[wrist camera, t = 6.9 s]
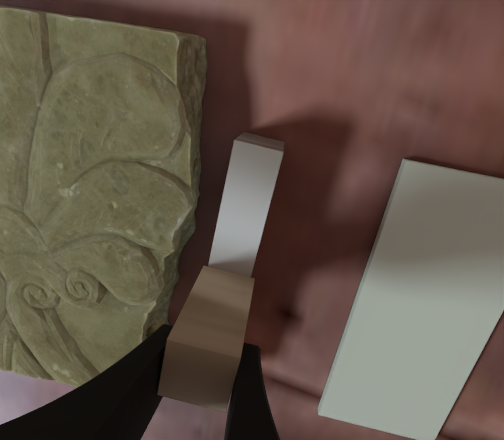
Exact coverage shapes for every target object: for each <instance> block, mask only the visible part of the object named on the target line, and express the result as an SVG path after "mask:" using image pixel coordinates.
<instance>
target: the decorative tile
mask: <svg viewBox="0 0 504 440" xmlns="http://www.w3.org/2000/svg"><path fill="white" fill-rule="evenodd" d="M206 70H207V51H206V39H205V38H204V37H202V36H199V35H195V34H190V33H184V32H178V31H173V30H166V29H160V28H153V27H147V26H141V25H134V24H128V23H121V22H115V21H108V20H101V19H94V18H88V17H81V16H73V15H67V14H60V13H54V12H47V11H41V10H34V9H28V8H21V7H14V6H7V5H1V4H0V370H4V371H12V372H14V373H16V374H21V375H25V376H30V377H35V378H40V379H47V380H56V381H58V382H60V383H64V384H67V385H71V386H74V387H79V386H81V385H83V384H84V383H86V382H88V381H89V380H91V379H92V378H94V377H95V376H97V375H99V374H100V373H102V372H103V371H104V370H106V369H107V368H109V367H110V366H111V365H113V364H114V363H116V362H117V361H118V360H120V359H121V358H123V357H124V356H125V355H126V354H128V353H129V352H130V351H131V350H133V349H134V348H135V347H137V346H138V345H139V344H140V343H141V342H143V341H144V340H145V339H146V338H147V337H149V336H150V335H151V334H152V333H153V332H154V331H155V330H157V329H158V328H159V327H160V326H161V325H163V324H167V325H169V323H168V321H167V317H168V314H169V313H168V308H169V306H170V302H171V295H172V294H173V288H174V286H175V285H176V283H177V282H178V281H179V271H178V265H179V258H180V254H181V252H182V249H183V247H184V246H185V244H186V242H187V241H188V240H189V239H190V237H191V236H192V235H193V233H194V231H195V227H196V220H195V212H194V211H195V209H196V207H197V201H198V198H199V196H200V192H199V184H200V174H201V157H200V137H201V121H202V117H203V107H202V104H201V103H202V98H203V94H204V89H205V85H206Z"/></svg>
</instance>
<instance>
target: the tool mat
mask: <svg viewBox="0 0 504 440" xmlns="http://www.w3.org/2000/svg"><path fill="white" fill-rule="evenodd" d="M503 311H504V179H502V178H497V177H492V176H487V175H482V174H477V173H472V172H467V171H462V170H457V169H452V168H447V167H442V166H437V165H432V164H428V163H423V162H418V161H413V160H408V159H403V160H402V162H401V165H400V168H399V171H398V174H397V177H396V180H395V183H394V186H393V189H392V192H391V195H390V198H389V201H388V204H387V207H386V209H385V212H384V215H383V218H382V221H381V224H380V227H379V230H378V233H377V236H376V239H375V242H374V245H373V248H372V251H371V254H370V257H369V259H368V262H367V265H366V268H365V271H364V274H363V277H362V280H361V283H360V286H359V289H358V292H357V295H356V298H355V301H354V304H353V306H352V309H351V312H350V315H349V318H348V321H347V324H346V327H345V330H344V333H343V336H342V339H341V342H340V345H339V348H338V351H337V353H336V356H335V359H334V362H333V365H332V368H331V371H330V374H329V377H328V380H327V383H326V386H325V389H324V392H323V395H322V398H321V401H320V403H319V406H318V415H321V416H325V417H329V418H333V419H337V420H341V421H345V422H349V423H353V424H357V425H361V426H365V427H369V428H373V429H377V430H381V431H385V432H389V433H393V434H397V435H401V436H405V437H409V438H413V439H417V440H435V438H436V437H437V435H438V433H439V431H440V429H441V427H442V425H443V423H444V422H445V420H446V418H447V416H448V414H449V412H450V410H451V408H452V406H453V405H454V403H455V401H456V399H457V397H458V395H459V393H460V391H461V390H462V388H463V386H464V384H465V382H466V380H467V378H468V376H469V374H470V373H471V371H472V369H473V367H474V365H475V363H476V361H477V359H478V358H479V356H480V354H481V352H482V350H483V348H484V346H485V344H486V343H487V341H488V339H489V337H490V335H491V333H492V331H493V329H494V327H495V326H496V324H497V322H498V320H499V318H500V316H501V314H502V312H503Z"/></svg>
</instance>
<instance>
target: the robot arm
mask: <svg viewBox="0 0 504 440" xmlns="http://www.w3.org/2000/svg"><path fill="white" fill-rule="evenodd" d="M172 328H173V326H171V325H167V324H163V325H161V326H160V327H159V328H158V329H157V330H155V331H154V332H153V333H152V334H151V335H150V336H149V337H147V338H146V339H145V340H144V341H143V342H141V343H140V344H139V345H138V346H137V347H135V348H134V349H133V350H131V351H130V352H129V353H128V354H126V355H125V356H124V357H123V358H121V359H120V360H118V361H117V362H116V363H114V364H113V365H111V366H110V367H109V368H107V369H106V370H104V371H103V372H102V373H100V374H99V375H97V376H95V377H94V378H92V379H91V380H89V381H88V382H86V383H84V384H83V385H81V386H79V387H78V388H76V389H74V390H73V391H71V392H69V393H67V394H65V395H63V396H62V397H60V398H58V399H56V400H54V401H52V402H50V403H48V404H46V405H44V406H42V407H40V408H38V409H36V410H34V411H31V412H29V413H27V414H25V415H23V416H20V417H18V418H16V419H13V420H11V421H9V422H6V423H4V424H1V425H0V440H140V439H141V438H142V436H143V434H144V432H145V430H146V428H147V426H148V424H149V422H150V420H151V419H152V417H153V415H154V413H155V411H156V409H157V407H158V405H159V403H160V401H161V399H162V397H163V396H160V395H157V394H158V388H159V382H160V376H161V371H162V365H163V359H164V353H165V348H166V342H167V338H168V336H169V334H170V332H171V330H172ZM260 350H261V349H260V348H259V346H255V345H251V344H247V343H243V349H242V354H241V359H240V363H239V367H238V370H237V374H236V377H235V381H234V384H233V389H232V394H231V399H230V404H229V409H228V415H227V422H226V430H225V437H224V440H280V438H279V435H278V432H277V429H276V426H275V423H274V420H273V417H272V414H271V410H270V407H269V403H268V399H267V395H266V390H265V386H264V381H263V375H262V368H261V358H260Z"/></svg>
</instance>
